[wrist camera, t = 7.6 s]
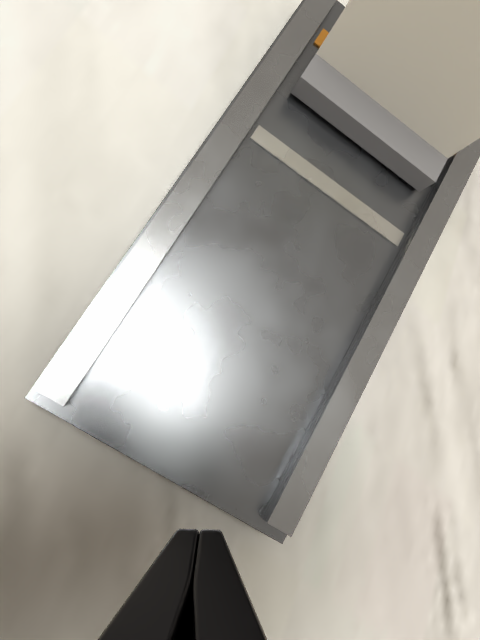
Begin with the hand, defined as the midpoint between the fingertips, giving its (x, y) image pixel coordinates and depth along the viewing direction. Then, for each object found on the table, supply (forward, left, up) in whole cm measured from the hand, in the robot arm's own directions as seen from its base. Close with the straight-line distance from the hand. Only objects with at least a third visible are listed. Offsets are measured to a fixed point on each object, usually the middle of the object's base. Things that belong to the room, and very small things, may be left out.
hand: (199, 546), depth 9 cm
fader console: (+10, -5, -12) cm, 17 cm away
